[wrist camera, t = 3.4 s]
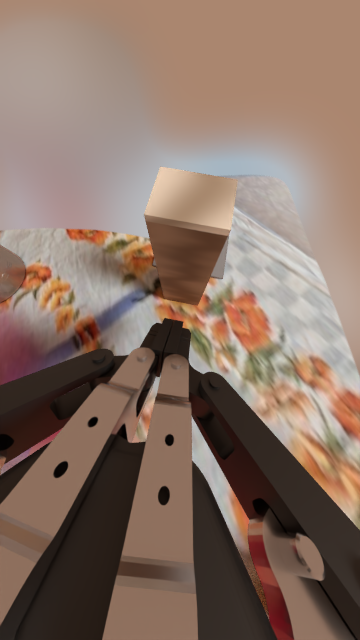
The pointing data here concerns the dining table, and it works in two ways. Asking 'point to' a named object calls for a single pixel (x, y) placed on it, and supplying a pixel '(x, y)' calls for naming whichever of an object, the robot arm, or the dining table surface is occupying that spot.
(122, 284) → the dining table surface
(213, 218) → the walnut block
